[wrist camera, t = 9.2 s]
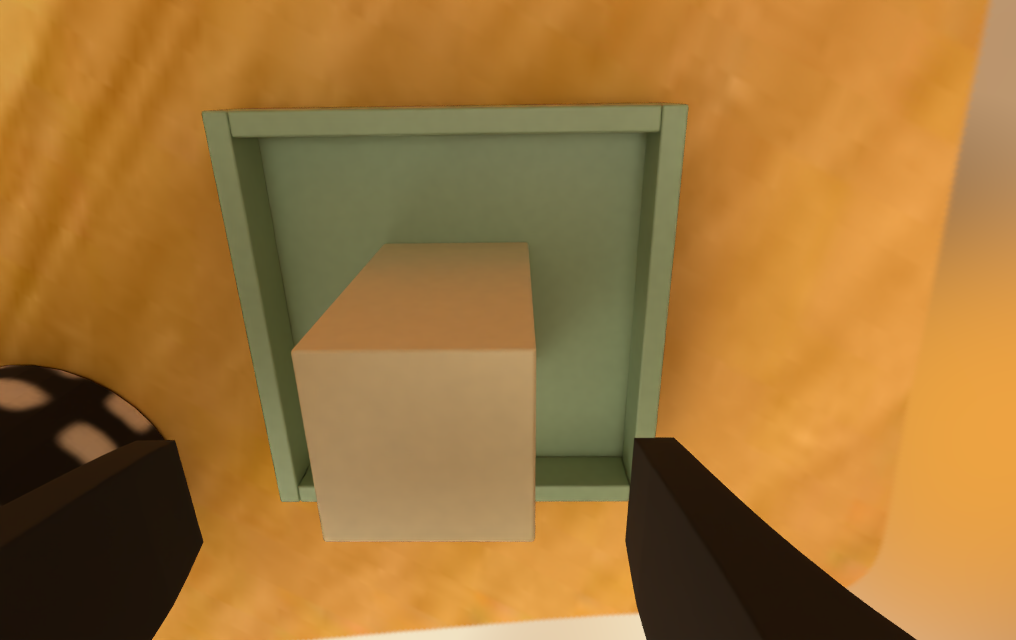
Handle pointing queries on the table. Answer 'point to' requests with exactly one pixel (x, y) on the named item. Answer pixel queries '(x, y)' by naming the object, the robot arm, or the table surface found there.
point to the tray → (467, 219)
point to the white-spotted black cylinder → (58, 426)
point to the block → (425, 397)
